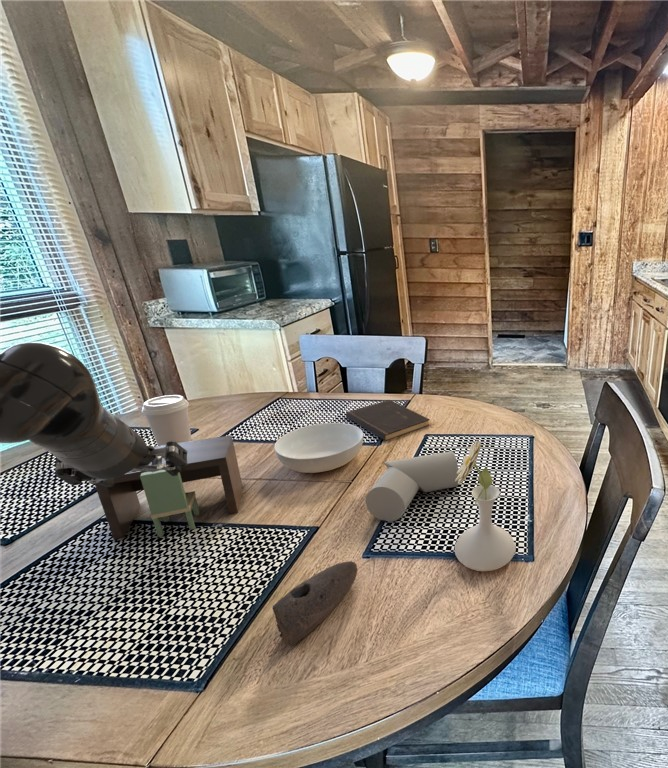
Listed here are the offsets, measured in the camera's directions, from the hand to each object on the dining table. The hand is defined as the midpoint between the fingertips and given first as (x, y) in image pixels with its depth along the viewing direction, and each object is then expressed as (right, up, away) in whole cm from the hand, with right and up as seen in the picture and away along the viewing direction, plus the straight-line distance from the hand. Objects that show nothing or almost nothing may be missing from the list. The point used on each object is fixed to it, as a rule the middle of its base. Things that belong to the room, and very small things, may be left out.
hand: (144, 475), depth 70 cm
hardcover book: (+22, +3, +63) cm, 67 cm away
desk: (-7, -12, +18) cm, 22 cm away
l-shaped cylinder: (+41, -11, +26) cm, 49 cm away
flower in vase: (+57, -17, +8) cm, 60 cm away
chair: (-5, -13, +14) cm, 19 cm away
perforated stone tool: (+32, -21, -5) cm, 39 cm away
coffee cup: (-27, -3, +41) cm, 49 cm away
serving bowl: (+13, -5, +39) cm, 41 cm away
